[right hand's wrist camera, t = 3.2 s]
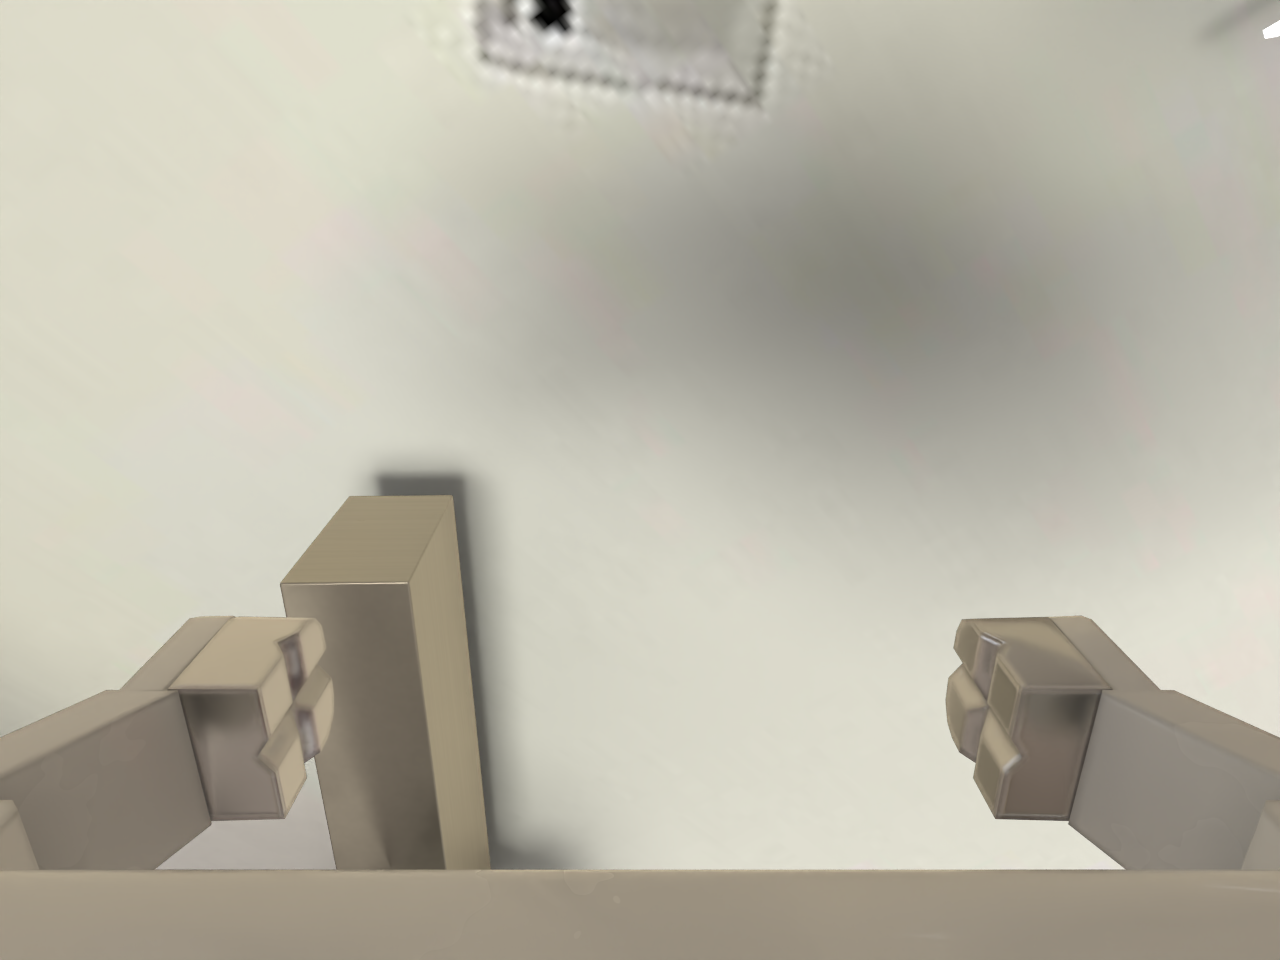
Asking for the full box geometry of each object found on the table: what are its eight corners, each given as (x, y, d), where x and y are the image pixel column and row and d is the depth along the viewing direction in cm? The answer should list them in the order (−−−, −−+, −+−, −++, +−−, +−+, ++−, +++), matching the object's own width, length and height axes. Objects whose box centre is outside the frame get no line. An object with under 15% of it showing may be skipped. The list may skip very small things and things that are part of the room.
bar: (348, 495, 37) (279, 583, 30) (453, 494, 37) (409, 581, 30) (416, 933, 48) (377, 1078, 40) (497, 932, 48) (473, 1077, 40)
